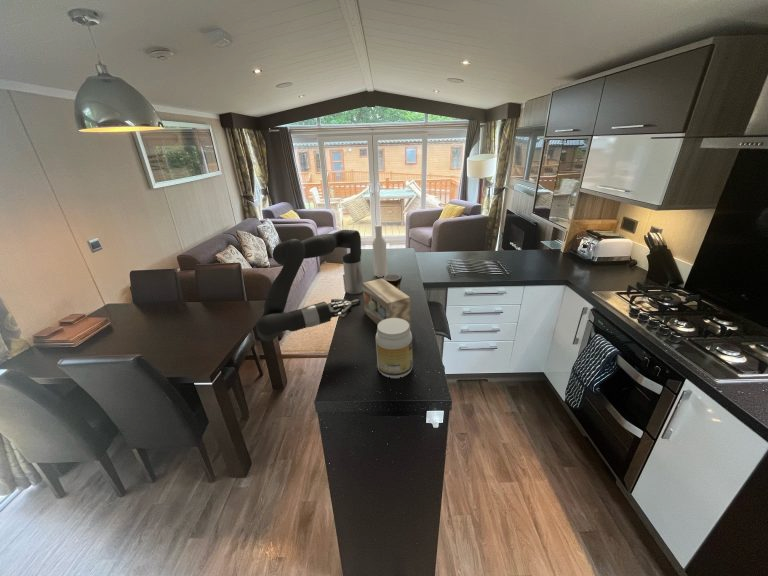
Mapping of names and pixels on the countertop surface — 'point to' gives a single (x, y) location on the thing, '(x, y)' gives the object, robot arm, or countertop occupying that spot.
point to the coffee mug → (393, 280)
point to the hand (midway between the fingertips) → (359, 302)
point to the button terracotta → (366, 298)
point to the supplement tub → (394, 348)
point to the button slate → (382, 312)
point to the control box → (386, 300)
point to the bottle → (379, 253)
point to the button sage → (372, 305)
